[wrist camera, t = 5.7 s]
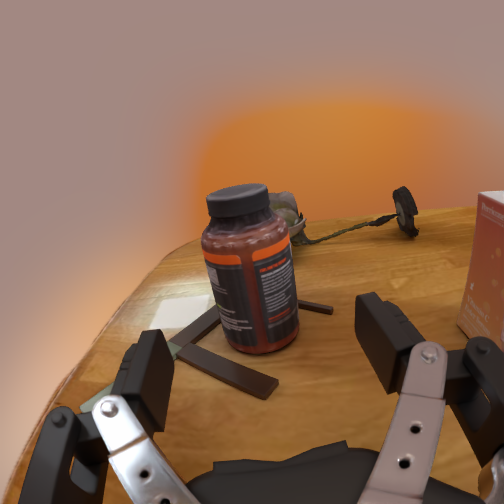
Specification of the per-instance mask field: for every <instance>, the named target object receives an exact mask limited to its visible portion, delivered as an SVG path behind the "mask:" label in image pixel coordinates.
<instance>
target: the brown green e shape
mask: <svg viewBox="0 0 504 504" xmlns="http://www.w3.org/2000/svg"><path fill="white" fill-rule="evenodd" d="M297 302H298V307H299V308H304V309H308V310H312V311H317V312H321V313H326V314H332V313H333V307H331V306H326V305H321V304H316V303H312V302H307V301H302V300H298V299H297ZM220 322H221V319H220V316H219V312H218V309H217V305H214V306H213V307H212V308H211V309H209V310H208V311H207V312H205V313H204V314H203V315H201V316H200V317H199V318H198V319H196V320H195V321H194V322H192V323H191V324H190V325H188V326H187V327H186V328H184V329H183V330H182V331H181V332H179V333H178V334H177V335H175V336H174V337H173V338H171V339H170V340H169V341H167V345H168V347H169V349H170V352H171V354H172V357H173V360H175V359H176V358H179V359H181V360H182V361H184V362H186V363H188V364H190V365H192V366H194V367H196V368H198V369H199V370H201V371H203V372H205V373H207V374H209V375H211V376H213V377H215V378H217V379H219V380H221V381H224V382H226V383H228V384H230V385H232V386H234V387H236V388H238V389H241V390H243V391H245V392H247V393H250V394H252V395H254V396H256V397H259V398H261V399H263V400H266V399H267V398H268V396H269V395H270V394H271V393H272V392H273V390H274V389H275V388H276V387H277V386H278V384H279V382H278V379H276V378H273V377H270V376H268V375H265V374H263V373H260V372H257V371H255V370H252V369H250V368H247V367H245V366H242V365H240V364H238V363H235V362H233V361H230V360H228V359H226V358H223V357H221V356H219V355H217V354H214V353H212V352H210V351H208V350H205V349H203V348H201V347H199V346H197V345H194V344H195V343H196V342H197V341H198V340H200V339H201V338H202V337H203V336H205V335H206V334H207V333H208V332H209V331H211V330H212V329H213V328H214V327H215V326H217V325H218V324H219V323H220ZM113 384H114V382H113V383H111V384H110V385H109V386H107V387H106V388H104V389H103V390H102V391H100V392H99V393H98V394H96V395H95V396H94V397H92V398H91V399H89V400H88V401H87V402H85V403H84V404H83V405H81V406H80V407H79V408H80V410H81V411H82V412H83V413H85V412H89V411H92V410H93V407H94V405H95V404H96V402H97V401H98V400H100V399H101V398H103V397H105V396H108V395H110V392H111V390H112V387H113Z"/></svg>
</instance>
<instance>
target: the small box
mask: <svg viewBox="0 0 504 504" xmlns="http://www.w3.org/2000/svg"><path fill="white" fill-rule="evenodd" d="M457 325H458V326H459V327H460V328H461V329H462V330H463V331H464V333H465V334H466V335H467V336H468V337H469V339H471V338H473V337H477V336H483V337H487V338H489V339H491V340H492V341H494V342H495V343H496V345H497V346H498V347H499V348H500V349H501V351H502V352H503V353H504V191H489V192H479V193H478V205H477V216H476V225H475V233H474V241H473V248H472V255H471V260H470V266H469V272H468V277H467V282H466V286H465V291H464V295H463V300H462V304H461V308H460V312H459V316H458V319H457Z"/></svg>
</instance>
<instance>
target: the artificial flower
mask: <svg viewBox="0 0 504 504" xmlns="http://www.w3.org/2000/svg"><path fill="white" fill-rule="evenodd" d="M268 195H269V200H270V205H269V207H270V208H271V210H272V211H273V212H274V213H276V214H278V215H280V216H281V217H282V218H283V219H284V220H285V221H286V223H287V226H288V230H289V238H290V242H291V243H292V245H293V246H300V245H307V244H315V243H319V242H321V241H323V240H327V239H330V238H333V237H336V236H338V235H340V234H342V233H345V232H347V231H352V230H354V229H359V228H362V227H364V226H368V225H369V226H377V227H378V226H380V225H383V224H384V223H386V222H388V221H389V220H390V219H392V218H394V217H395V216H398V217H397V218H396V219H397V222H398V224H399V227H400V230H401V231H404V232H405V233H407V234H408V235H409V236H410V237H411V236H415V237H416V236H417V235H418V234H419V233H418V232H419V230H417V229H416V228H415V226H414V217H413V216H414V215H418V211H417V207H416V204H415V202H414V199H413V197H412V195H411V193H410V192H409V190H408V189H407V188H406V187H405V186H402V187H400V188H399V189H397V190H395V191H394V192H393V199H394V202H395V207H396V213H397V214H392V215H388V216H382V217H380V218H378V219H377V220H375V221H371V222H369V223H367V222H365V223H362V224H358V225H354V226H353V227H351V228H349V229H344V230H342V231H338V232H336V233H334V234H332V235H329V236H327V237H323V238H321V239H318V240H312V241H311V240H309V239H308V238H307V237H306V235H305V233H304V231H303V229H304V228H305V227H306V225H305V221H306V218H305V219H303V215H302V213H300V217H299V214H298V209H297V204H296V201H295V198H294V196H293V194H292V193H290V192H286V191H285V192H281V193H268ZM417 231H418V232H417Z"/></svg>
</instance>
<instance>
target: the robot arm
mask: <svg viewBox="0 0 504 504" xmlns="http://www.w3.org/2000/svg"><path fill="white" fill-rule="evenodd" d="M355 333H356V337H357V339H358V341H359V343H360V345H361V347H362V349H363V350H364V352H365V354H366V356H367V358H368V359H369V361H370V363H371V365H372V367H373V369H374V370H375V372H376V374H377V376H378V378H379V380H380V382H381V383H382V385H383V387H384V389H385V391H386V393H387V395H388V394H391V393H394V392H397V393H398V395H399V399H398V402H397V405H396V409H395V412H394V415H393V418H392V421H391V424H390V426H389V429H388V432H387V435H386V438H385V440H384V443H383V445H382V448H381V451H380V452H377V451H374V450H370V449H365V448H348V446H347V443H346V440H344V441H340V442H336V443H332V444H328V445H324V446H320V447H316V448H313V449H310V450H308V451H306V452H303V453H301V454H299V455H296V456H294V457H292V458H289V459H287V460H284V461H280V462H276V461H261V460H249V459H242V460H232V461H219V462H213V470H212V471H209V472H206V473H204V474H201V475H199V476H197V477H195V478H194V479H192V480H191V481H189V482H188V483H187V482H186V481H185V480H184V479H183V477H182V476H181V475H180V474H179V473H178V472H177V470H176V469H175V468H174V467H173V465H172V464H171V463H170V461H169V460H168V459H167V458H166V456H165V455H164V454H163V452H162V451H161V450H160V448H159V447H158V445H157V444H156V443H155V441H154V440H153V435H154V432H164V428H165V422H166V416H167V409H168V403H169V397H170V392H171V386H172V380H173V375H174V360H173V357H172V354H171V352H170V349H169V347H168V345H167V342H166V340H165V337H164V335H163V332H162V331H161V330H160V329H156V330H147V331H142V333H141V335H140V338H139V341H138V343H136V344H132V346H131V347H130V348H129V349H128V350H127V351H126V352H125V355H124V357H123V360H122V363H121V365H120V368H119V369H120V370H119V371H118V373H117V376H116V379H115V381H114V384H113V387H112V390H111V392H110V395H108V396H105V397H103V398H101V399H100V400H98V401H97V402H96V404H95V405H94V407H93V410H92V411H89V412H85V413H81V414H76V415H75V413H74V412H73V411H72V410H71V409H70V408H69V407H66V406H60V407H57V408H55V409H53V410H52V411H51V412H50V413H49V414H48V415H47V417H46V419H45V421H44V424H43V427H42V429H41V432H40V435H39V437H38V440H37V443H36V446H35V448H34V451H33V454H32V457H31V460H30V463H29V467H28V470H27V473H26V476H25V480H24V483H23V487H22V490H21V494H20V498H19V502H18V504H102V503H103V495H104V488H105V482H106V476H107V470H108V464H109V461H110V463H111V465H112V467H113V469H114V471H115V472H116V474H117V476H118V478H119V480H120V481H121V483H122V485H123V487H124V488H125V490H126V492H127V493H128V495H129V497H130V498H131V500H132V501H133V503H134V504H504V353H503V352H502V351H501V349H500V348H499V347H498V346H497V345H496V343H495V342H494V341H492V340H491V339H489V338H487V337H483V336H477V337H473V338H471V339H470V340H469V341H468V342H467V345H466V348H465V349H461V350H452V351H446V349H445V348H444V347H443V346H442V345H440V344H438V343H435V342H430V341H426V340H425V339H424V338H423V336H422V335H421V334H420V333H419V332H418V330H417V329H416V328H415V327H414V325H413V324H412V323H411V322H410V321H409V319H408V318H407V317H406V316H405V315H404V313H403V312H402V311H401V310H400V309H399V307H398V306H396V305H395V304H393V303H391V302H389V301H384V302H383V301H382V300H381V299H380V298H379V297H378V295H377V294H376V293H375V292H371V293H366V294H362V295H358V296H356V301H355ZM481 389H482V390H483V392H484V393H485V395H486V396H487V398H488V400H489V401H490V403H489V401H488V400H487V398H486V396H485V395H484V393H483V392H482V390H481ZM445 405H450V407H451V409H452V411H453V413H454V414H455V416H456V418H457V420H458V422H459V424H460V426H461V428H462V429H463V431H464V433H465V435H466V437H467V439H468V441H469V443H470V445H471V447H472V449H473V451H474V453H475V455H476V457H477V459H478V461H479V464H480V466H481V468H482V470H481V471H480V474H479V477H478V491H479V492H480V494H479V497H478V496H476V495H473V494H471V493H468V492H465V491H463V490H460V489H458V488H455V487H453V486H450V485H448V484H446V483H443V482H441V481H439V480H436V479H434V478H432V477H430V476H429V475H430V471H431V468H432V464H433V460H434V457H435V453H436V449H437V445H438V440H439V436H440V431H441V426H442V421H443V416H444V410H445ZM73 456H74V457H75V458H74V462H73V466H72V470H71V474H70V475H69V469H70V465H71V461H72V457H73Z"/></svg>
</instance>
